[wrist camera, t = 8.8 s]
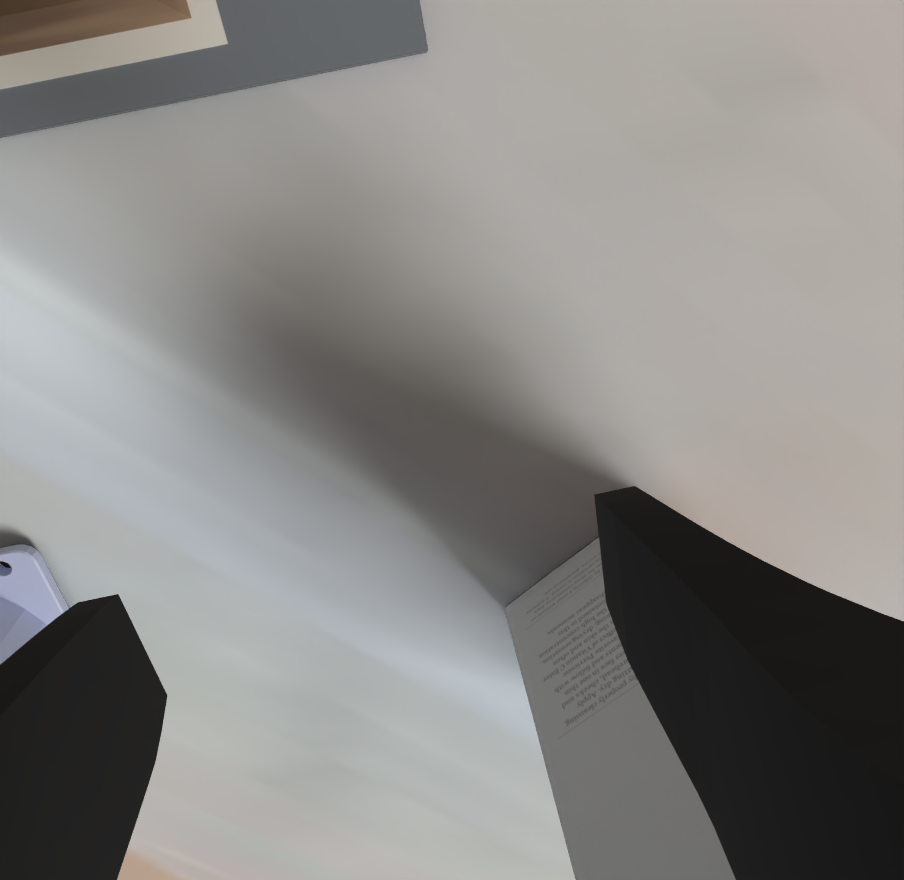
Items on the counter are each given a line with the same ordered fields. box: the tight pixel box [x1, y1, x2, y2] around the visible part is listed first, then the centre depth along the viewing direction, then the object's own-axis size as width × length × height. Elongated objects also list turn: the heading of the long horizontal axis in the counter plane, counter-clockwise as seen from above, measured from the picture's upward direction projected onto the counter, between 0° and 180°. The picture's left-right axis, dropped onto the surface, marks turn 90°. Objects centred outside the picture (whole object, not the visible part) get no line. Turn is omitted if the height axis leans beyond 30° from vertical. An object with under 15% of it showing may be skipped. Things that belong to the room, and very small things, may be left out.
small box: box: [505, 537, 736, 880], centre depth 19 cm, size 8×6×13 cm
